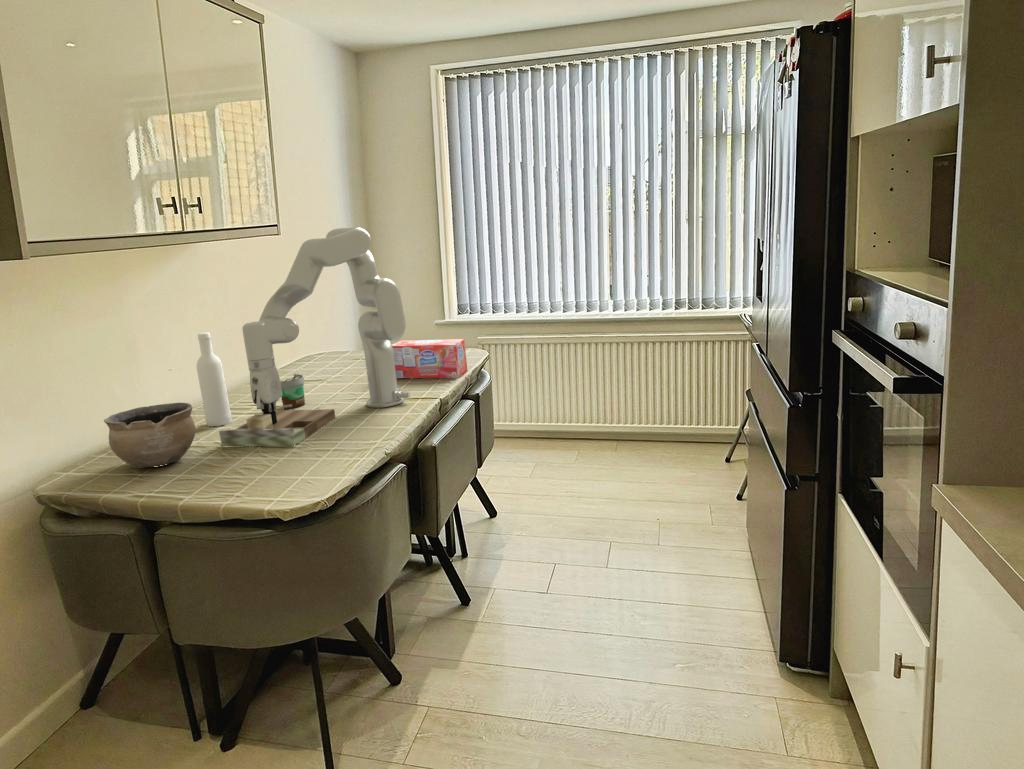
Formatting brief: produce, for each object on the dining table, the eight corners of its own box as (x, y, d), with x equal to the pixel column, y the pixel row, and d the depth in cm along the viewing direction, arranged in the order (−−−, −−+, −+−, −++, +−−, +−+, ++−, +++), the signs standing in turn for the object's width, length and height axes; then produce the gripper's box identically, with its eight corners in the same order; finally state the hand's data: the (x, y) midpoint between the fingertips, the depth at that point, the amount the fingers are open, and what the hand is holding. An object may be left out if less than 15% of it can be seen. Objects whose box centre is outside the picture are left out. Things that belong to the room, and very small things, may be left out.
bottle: (207, 422, 249) (190, 333, 242) (232, 418, 252) (216, 330, 245) (206, 428, 242) (189, 336, 235) (232, 424, 244) (216, 333, 237)
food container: (298, 410, 255) (294, 381, 253) (281, 410, 257) (277, 382, 254) (314, 400, 267) (310, 373, 265) (298, 401, 268) (294, 373, 266)
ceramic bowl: (111, 483, 196) (99, 428, 192) (117, 460, 215) (106, 410, 212) (202, 465, 204) (192, 412, 200) (200, 445, 224) (191, 396, 220)
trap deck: (335, 418, 241) (333, 403, 240) (294, 446, 215) (291, 429, 214) (270, 419, 246) (267, 404, 245) (222, 447, 220) (219, 430, 218)
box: (468, 371, 295) (465, 336, 292) (458, 379, 283) (455, 343, 280) (404, 372, 302) (400, 339, 299) (392, 380, 290) (388, 345, 287)
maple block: (273, 430, 222) (270, 414, 221) (264, 435, 217) (262, 419, 216) (258, 430, 223) (255, 414, 222) (249, 435, 218) (246, 419, 217)
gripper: (260, 369, 213) (270, 431, 217) (285, 358, 227) (294, 416, 231) (236, 370, 214) (246, 431, 219) (262, 359, 229) (272, 417, 233)
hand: (271, 423), depth 225 cm, fingers closed
